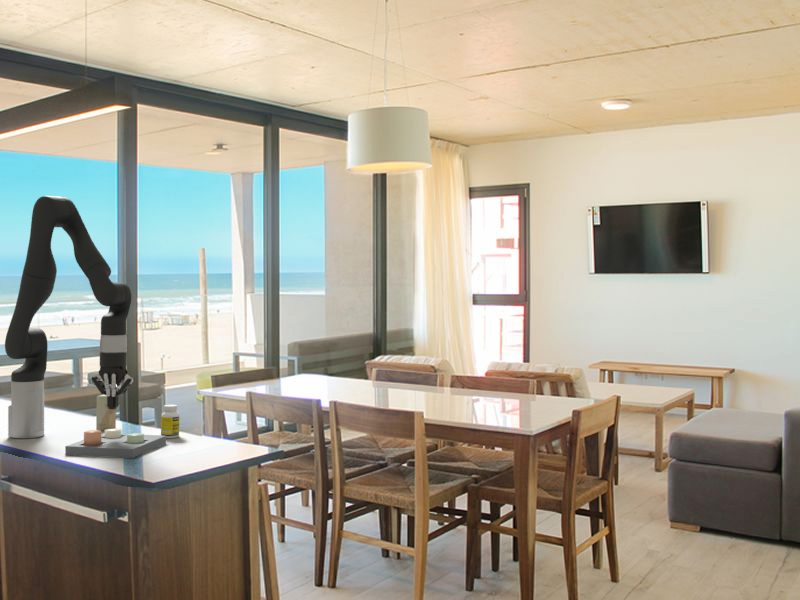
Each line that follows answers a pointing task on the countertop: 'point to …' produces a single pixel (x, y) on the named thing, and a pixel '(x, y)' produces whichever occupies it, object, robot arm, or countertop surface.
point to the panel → (116, 447)
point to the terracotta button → (92, 438)
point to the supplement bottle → (170, 422)
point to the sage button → (135, 438)
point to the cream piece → (113, 433)
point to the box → (104, 414)
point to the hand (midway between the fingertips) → (112, 408)
